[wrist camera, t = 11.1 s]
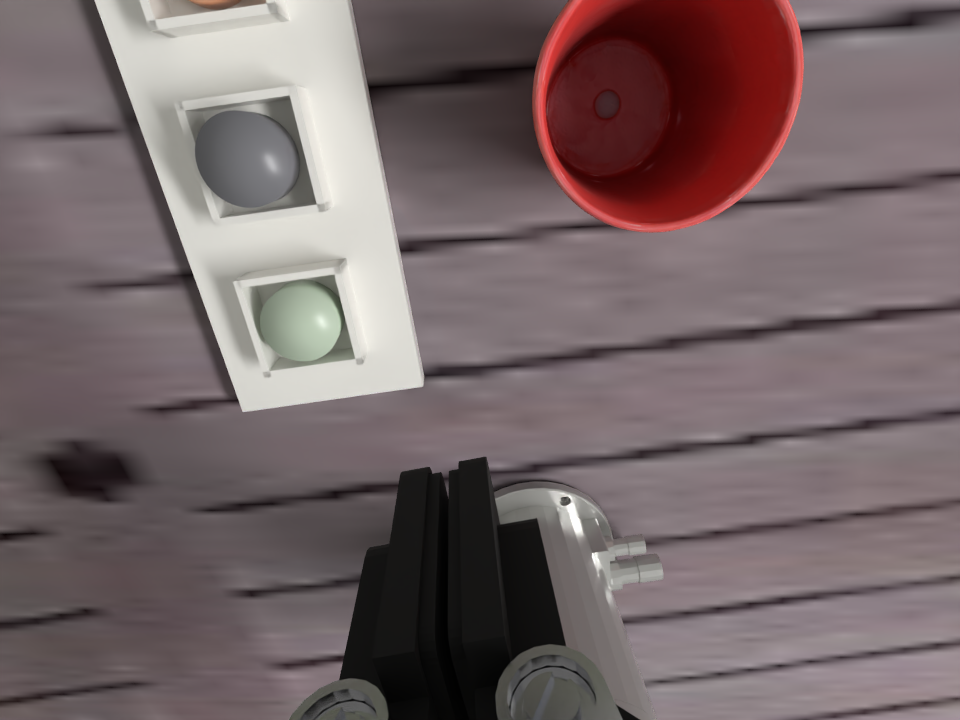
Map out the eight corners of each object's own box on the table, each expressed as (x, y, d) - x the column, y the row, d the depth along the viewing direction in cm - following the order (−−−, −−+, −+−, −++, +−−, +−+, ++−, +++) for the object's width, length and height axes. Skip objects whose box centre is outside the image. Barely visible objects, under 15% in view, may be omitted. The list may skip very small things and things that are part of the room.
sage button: (335, 274, 31) (327, 283, 29) (352, 343, 33) (346, 355, 31) (261, 285, 31) (249, 295, 29) (282, 353, 33) (272, 366, 31)
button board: (309, -214, 24) (288, -267, 21) (424, 376, 36) (421, 400, 33) (49, -176, 24) (-14, -223, 21) (250, 401, 36) (231, 427, 33)
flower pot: (548, -37, 27) (597, -120, 18) (733, 41, 29) (859, 1, 20) (484, 171, 31) (497, 187, 22) (650, 228, 33) (725, 265, 24)
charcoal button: (286, 105, 26) (274, 104, 24) (309, 196, 28) (299, 201, 26) (199, 118, 26) (181, 117, 24) (228, 208, 28) (212, 213, 26)
